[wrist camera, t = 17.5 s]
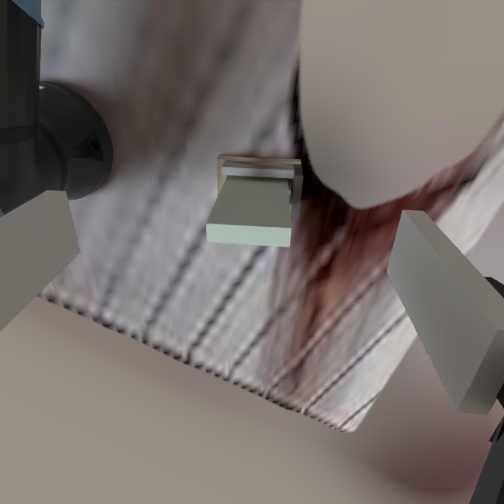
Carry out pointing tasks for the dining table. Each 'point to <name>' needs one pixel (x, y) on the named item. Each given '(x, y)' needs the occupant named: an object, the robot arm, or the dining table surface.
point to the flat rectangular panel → (251, 212)
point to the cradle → (265, 173)
